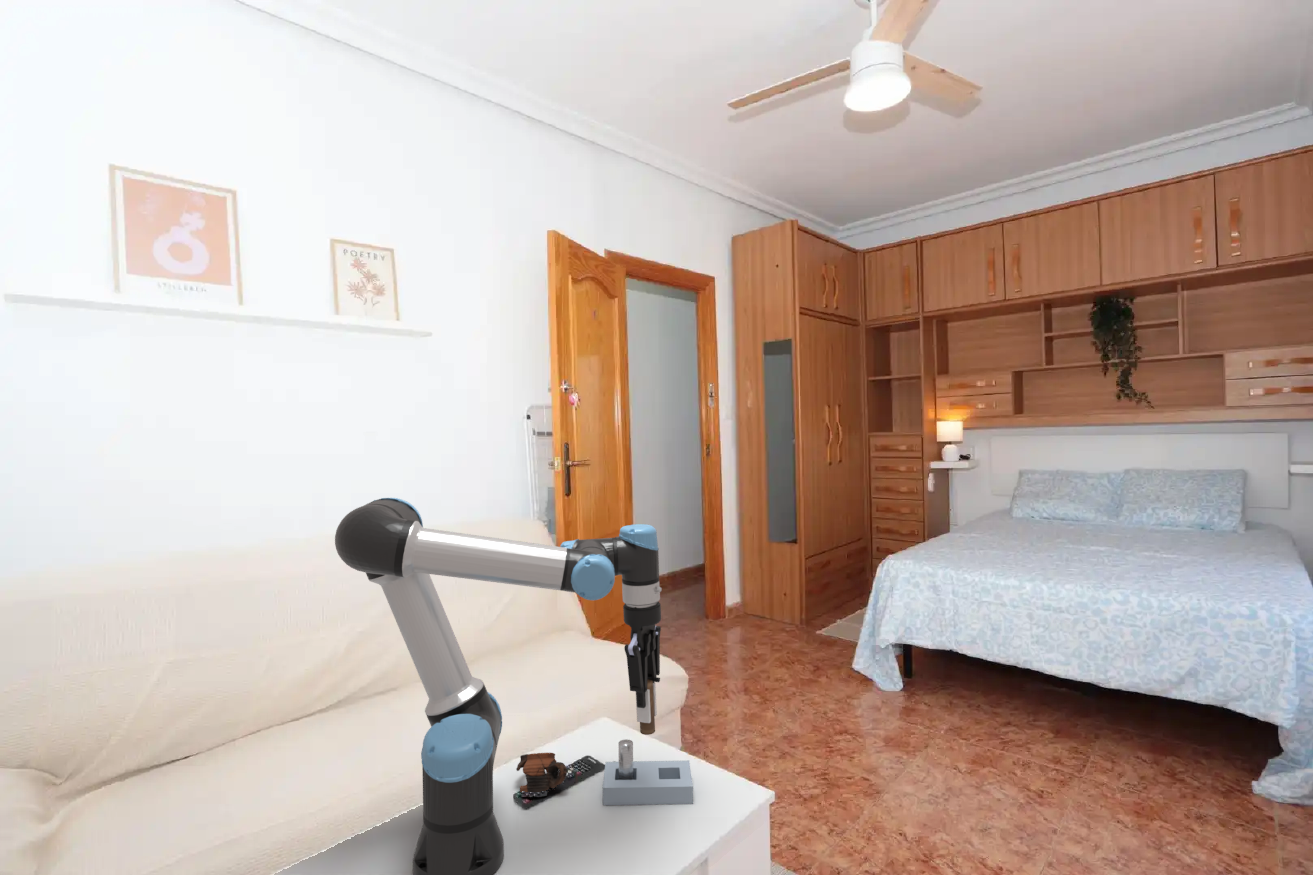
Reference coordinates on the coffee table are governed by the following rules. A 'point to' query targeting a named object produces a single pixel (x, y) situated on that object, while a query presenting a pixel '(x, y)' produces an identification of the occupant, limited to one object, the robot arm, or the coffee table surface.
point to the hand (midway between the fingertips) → (647, 717)
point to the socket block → (649, 784)
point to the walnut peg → (650, 727)
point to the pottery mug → (541, 771)
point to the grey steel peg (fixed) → (625, 760)
